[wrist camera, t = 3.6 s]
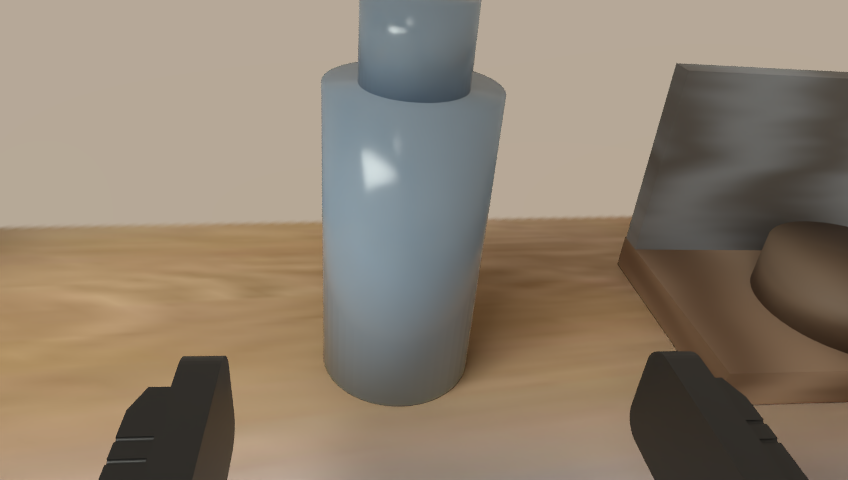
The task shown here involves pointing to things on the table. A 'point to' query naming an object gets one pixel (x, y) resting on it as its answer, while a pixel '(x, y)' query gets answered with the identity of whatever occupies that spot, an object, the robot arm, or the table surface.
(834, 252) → the display stand
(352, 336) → the blue grey bottle
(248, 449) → the table surface
